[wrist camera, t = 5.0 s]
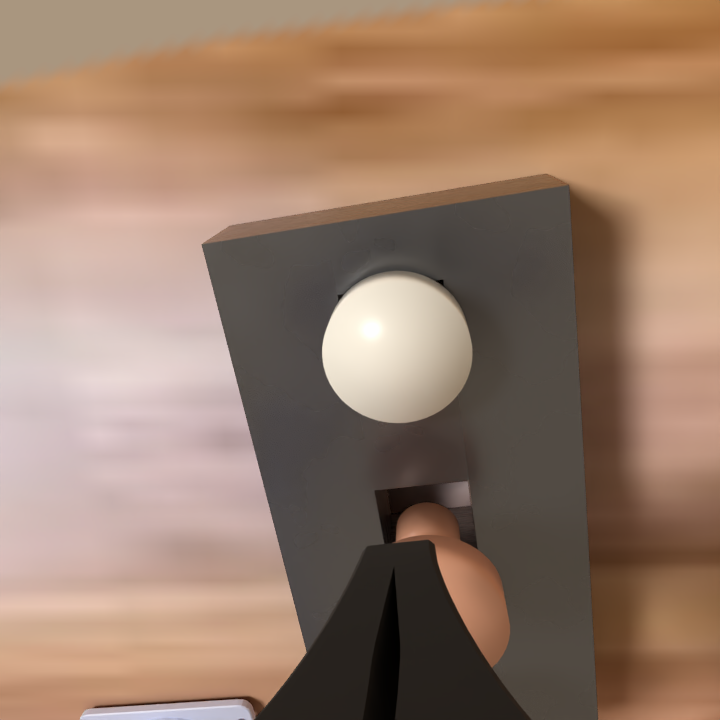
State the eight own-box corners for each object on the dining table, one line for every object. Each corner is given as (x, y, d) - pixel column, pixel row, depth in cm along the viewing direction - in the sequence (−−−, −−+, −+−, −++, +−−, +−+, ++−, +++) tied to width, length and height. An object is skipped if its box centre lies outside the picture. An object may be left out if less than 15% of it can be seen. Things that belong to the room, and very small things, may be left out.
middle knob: (496, 573, 21) (516, 683, 17) (375, 584, 22) (367, 692, 18) (484, 468, 20) (503, 560, 16) (355, 482, 20) (341, 574, 16)
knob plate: (579, 672, 26) (598, 738, 24) (340, 687, 28) (332, 752, 25) (546, 173, 19) (569, 184, 17) (229, 225, 21) (201, 244, 18)
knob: (467, 357, 22) (479, 414, 18) (350, 372, 22) (336, 431, 18) (453, 239, 20) (463, 271, 16) (328, 258, 21) (308, 294, 17)
